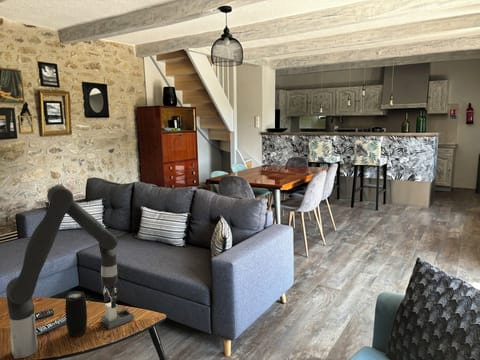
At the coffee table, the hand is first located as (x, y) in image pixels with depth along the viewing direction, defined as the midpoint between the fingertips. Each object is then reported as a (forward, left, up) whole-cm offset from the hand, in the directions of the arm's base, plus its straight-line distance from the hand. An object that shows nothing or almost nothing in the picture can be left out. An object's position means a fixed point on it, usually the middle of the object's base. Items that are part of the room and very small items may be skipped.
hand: (110, 304), depth 181 cm
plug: (0, 0, -10) cm, 10 cm away
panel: (+3, 0, -10) cm, 10 cm away
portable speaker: (-16, +2, -10) cm, 19 cm away
